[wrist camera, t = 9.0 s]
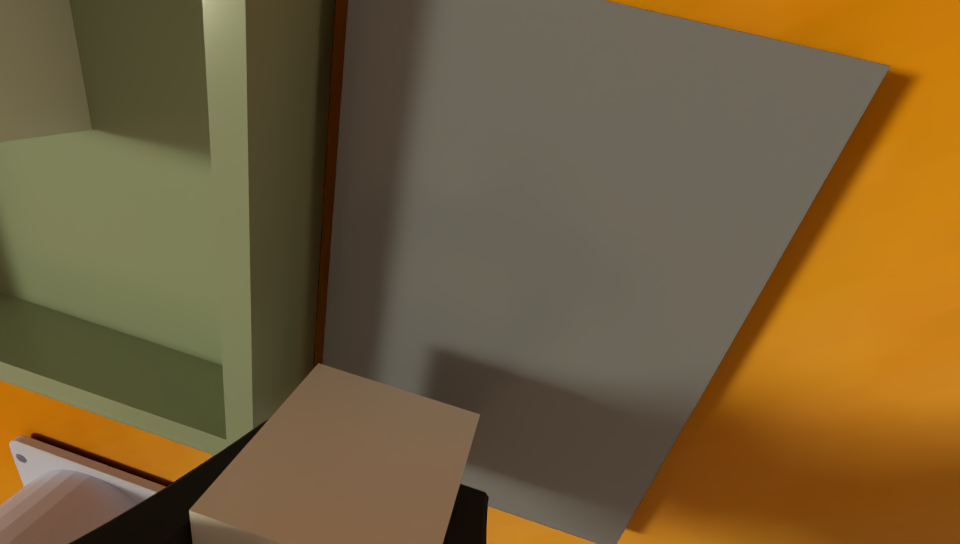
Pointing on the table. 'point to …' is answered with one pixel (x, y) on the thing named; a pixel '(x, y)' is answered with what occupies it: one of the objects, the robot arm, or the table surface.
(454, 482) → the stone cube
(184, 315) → the olive dish
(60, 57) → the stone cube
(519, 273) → the slate board
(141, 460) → the table surface
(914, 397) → the table surface
